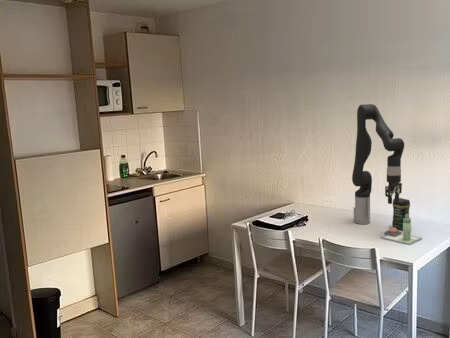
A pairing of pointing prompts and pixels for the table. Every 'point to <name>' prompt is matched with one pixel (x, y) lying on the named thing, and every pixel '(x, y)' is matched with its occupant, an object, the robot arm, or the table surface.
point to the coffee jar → (400, 212)
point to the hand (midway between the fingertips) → (393, 202)
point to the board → (399, 238)
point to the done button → (392, 230)
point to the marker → (406, 229)
